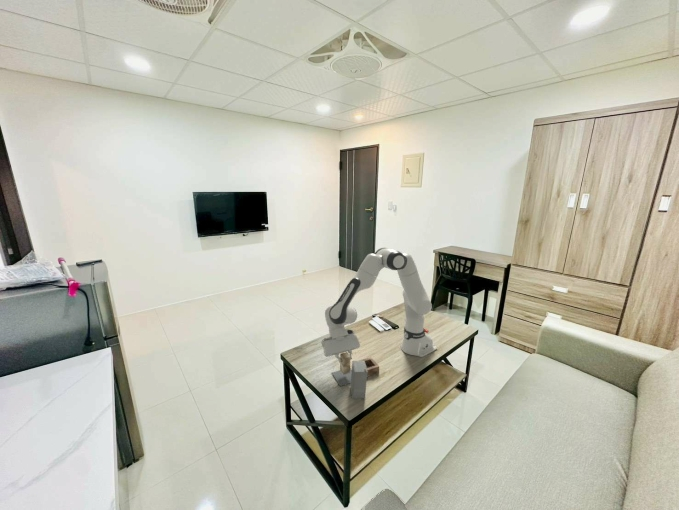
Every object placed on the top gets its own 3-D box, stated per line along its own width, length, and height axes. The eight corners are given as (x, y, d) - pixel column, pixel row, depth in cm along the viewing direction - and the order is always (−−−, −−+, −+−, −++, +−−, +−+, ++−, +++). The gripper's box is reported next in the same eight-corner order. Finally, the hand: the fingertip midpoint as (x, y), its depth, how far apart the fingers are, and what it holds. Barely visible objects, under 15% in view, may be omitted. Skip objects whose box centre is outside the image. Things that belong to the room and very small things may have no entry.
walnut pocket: (370, 363, 157) (370, 357, 156) (379, 372, 149) (379, 366, 148) (356, 367, 153) (357, 361, 152) (364, 377, 145) (365, 370, 144)
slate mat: (349, 368, 152) (349, 367, 152) (359, 380, 143) (359, 379, 142) (331, 373, 148) (331, 372, 148) (340, 386, 138) (340, 385, 138)
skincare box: (350, 387, 138) (350, 360, 134) (363, 386, 139) (364, 359, 135) (352, 399, 130) (352, 371, 126) (366, 398, 130) (368, 370, 126)
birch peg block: (346, 368, 147) (347, 352, 144) (350, 372, 143) (350, 356, 141) (340, 370, 145) (340, 353, 143) (343, 374, 142) (343, 358, 139)
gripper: (322, 337, 142) (329, 364, 135) (356, 329, 150) (364, 354, 144) (319, 340, 147) (325, 367, 140) (352, 332, 155) (360, 357, 149)
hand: (345, 360), depth 142 cm, fingers closed on birch peg block, 4 cm apart
